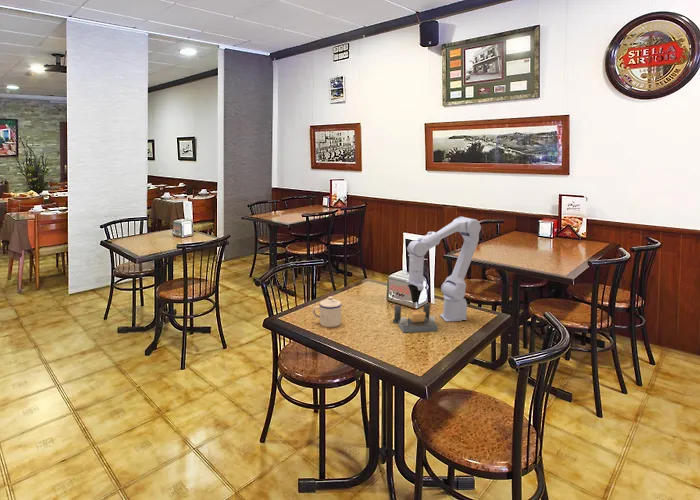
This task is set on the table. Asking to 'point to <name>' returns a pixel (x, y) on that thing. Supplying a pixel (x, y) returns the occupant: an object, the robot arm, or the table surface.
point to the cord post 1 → (397, 314)
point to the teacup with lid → (329, 312)
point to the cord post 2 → (427, 310)
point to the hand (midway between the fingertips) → (415, 302)
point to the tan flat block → (418, 317)
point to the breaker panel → (417, 325)
